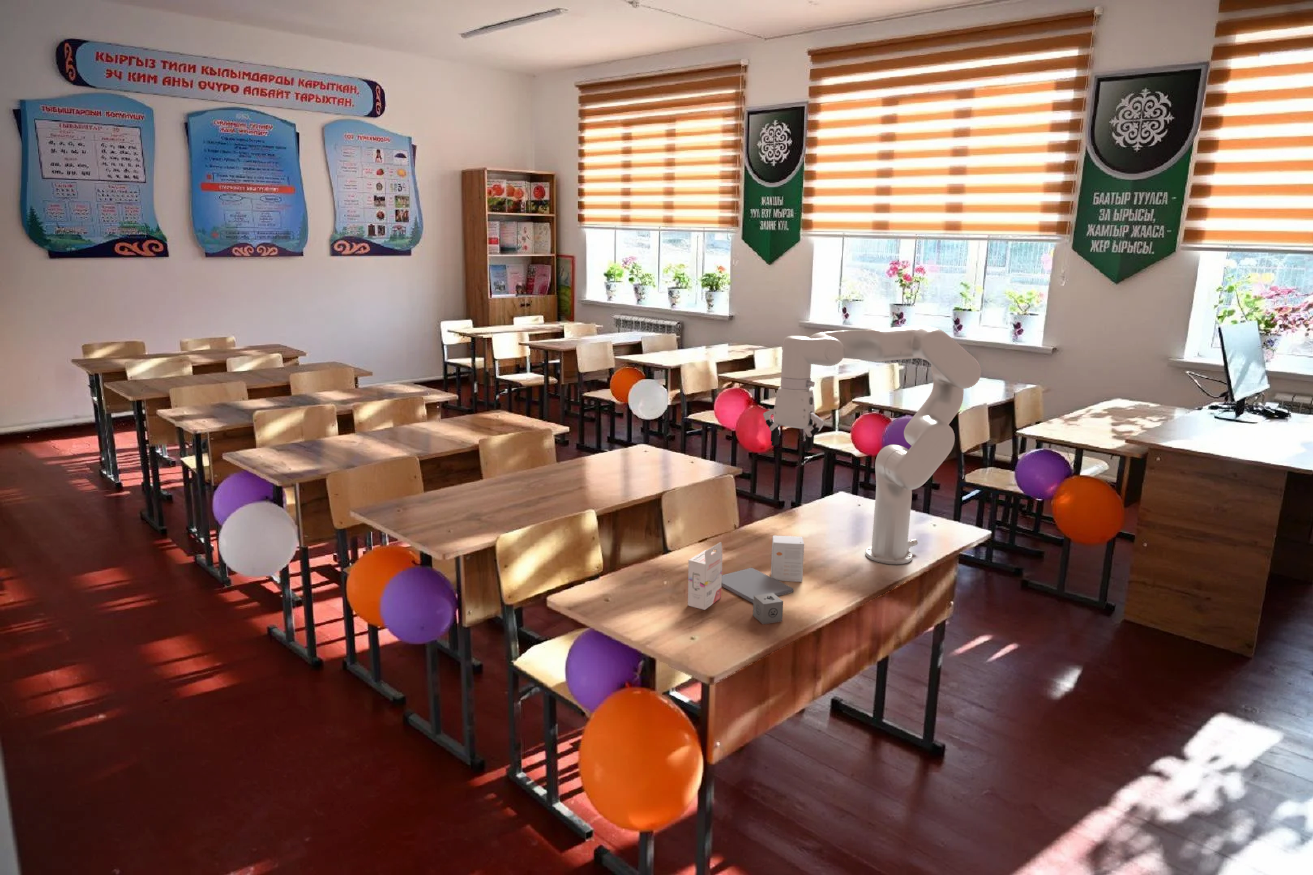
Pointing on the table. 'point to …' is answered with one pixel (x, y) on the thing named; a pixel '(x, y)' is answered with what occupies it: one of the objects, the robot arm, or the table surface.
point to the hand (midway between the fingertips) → (791, 447)
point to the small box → (787, 558)
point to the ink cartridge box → (705, 578)
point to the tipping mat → (753, 584)
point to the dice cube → (768, 608)
